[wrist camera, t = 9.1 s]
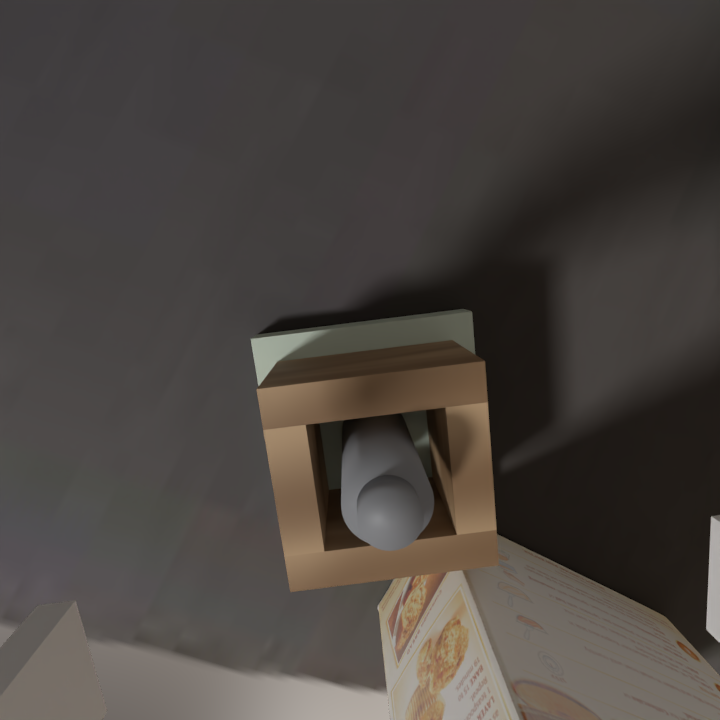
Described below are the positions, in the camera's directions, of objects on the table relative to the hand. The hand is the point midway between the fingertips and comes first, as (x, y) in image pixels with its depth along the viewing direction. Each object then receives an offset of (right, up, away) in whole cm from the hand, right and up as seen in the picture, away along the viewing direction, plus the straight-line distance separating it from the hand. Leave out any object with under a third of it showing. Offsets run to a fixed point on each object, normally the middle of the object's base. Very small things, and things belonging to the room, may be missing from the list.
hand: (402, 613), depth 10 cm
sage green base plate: (0, +2, +14) cm, 14 cm away
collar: (0, +2, +12) cm, 12 cm away
